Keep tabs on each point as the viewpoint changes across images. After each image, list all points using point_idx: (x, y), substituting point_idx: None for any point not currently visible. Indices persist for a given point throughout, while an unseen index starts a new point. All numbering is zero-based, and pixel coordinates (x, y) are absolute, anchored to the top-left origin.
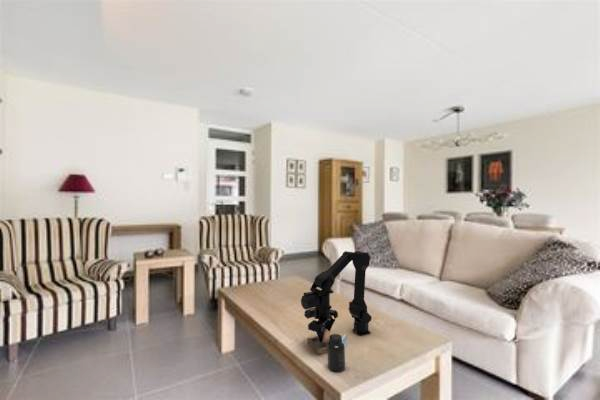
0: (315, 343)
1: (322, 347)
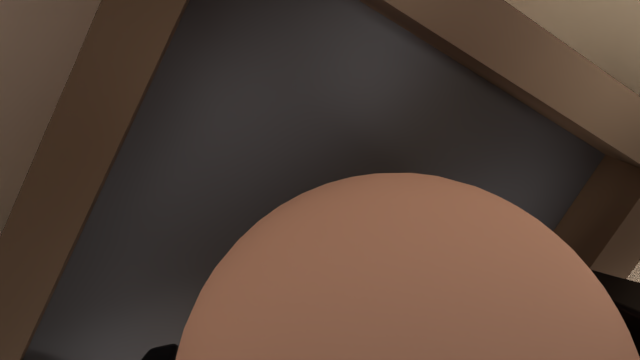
0: (254, 80)
1: None
